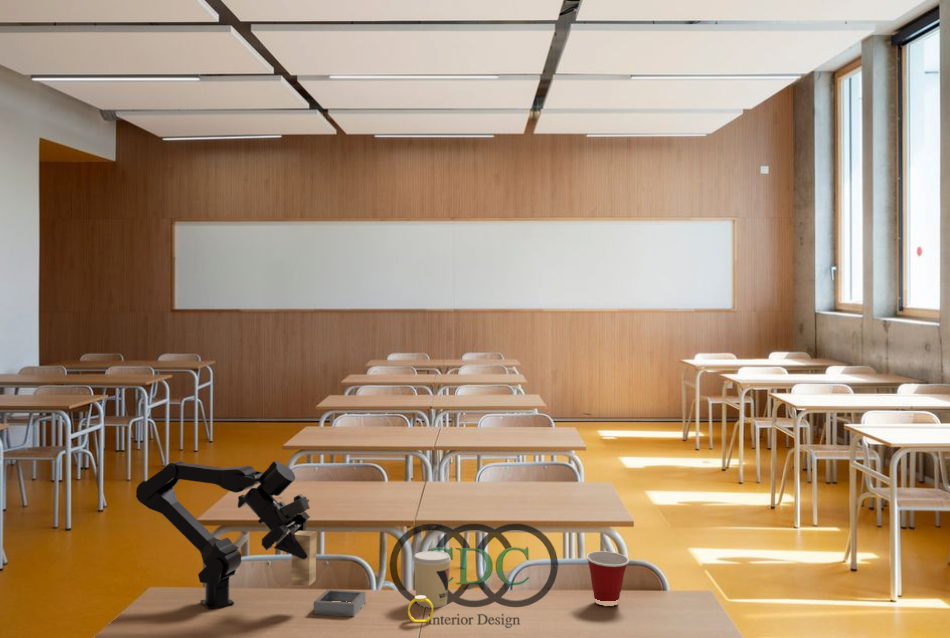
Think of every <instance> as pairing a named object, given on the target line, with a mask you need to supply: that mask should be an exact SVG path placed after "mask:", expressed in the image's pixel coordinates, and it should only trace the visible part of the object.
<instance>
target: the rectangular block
mask: <svg viewBox="0 0 950 638" xmlns="http://www.w3.org/2000/svg"><path fill="white" fill-rule="evenodd" d="M295 539H296V540H297V541H298V543H299V544H300V546H301V547H302V549H303V550H304V551H305V553H306V555H307V558H306V559H301V558H299V557H297V556H294V555H292V554H291V580H290V581H291V583H290V584H291V585H292V586H308V587H309V586H311V585H312V584H313V583H314V582H316V577H317V576H316V573H317V572H316V570H317V569H316V566H317V564H316V562H317V561H316V560H317V558H316V557H317V531H314V530H305V531H297V532H296V533H295Z"/></svg>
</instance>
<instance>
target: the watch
mask: <svg viewBox="0 0 950 638" xmlns="http://www.w3.org/2000/svg"><path fill="white" fill-rule="evenodd" d="M416 601H419V602H421V601H426V602H428V603H429V604H430V606H431V608H430V609H431V612H430V615H429V616H428V617H427V618H426V619H415V618H414V617H413V616H412V615H411V610H410V609H411V607H412V605H413V604H414V603H416ZM407 614H408V618H409V619H410V620H411V621H412V622H413V623H415V624H417V623H428V622H429V621H431V620H432V618H433V615H434V608H433V605H432V603H431V601H430V600H428V599H427V598H426V596H424V595H418V596H416V595H415V596H414V598H413V599H412V600H411V601H410V602H409V604H408V607H407Z"/></svg>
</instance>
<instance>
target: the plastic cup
mask: <svg viewBox="0 0 950 638" xmlns="http://www.w3.org/2000/svg"><path fill="white" fill-rule="evenodd" d="M585 556H586V559H587V562H588V566H589V572H590V578H591V579H590V581H591V586H592V592H593V598H595V599H597V600H600V601H616V600H618V599H619V600H620V596H621V592H622V589H623V588H622V587H623V583H624V577H625V572H626V570H627V565H628V564H630V563H629V562H630V559H629V557H627V556H625V555H624V554H622V553H618V552H613V551H605V550H597V551H596V550H595V551H591V552H588V553H587V554H586V555H585Z"/></svg>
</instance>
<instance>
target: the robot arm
mask: <svg viewBox="0 0 950 638" xmlns="http://www.w3.org/2000/svg"><path fill="white" fill-rule="evenodd" d="M180 480H184V481H189V482H190V481H192V482H197V483H205V484H212V485H215V486H219V487H220V488H221V489H223V490H226V491H229V492H232V493H235V494H237V493H241V492H244V491H246V490H248V491H247V492H246V493H245V494H241V495H239V496H238V501H237V508H238V509H240V508H242V507H243V506H246V505H247V506H248V507H249V508H250V509H251V511H252V512H254V514H255V515H256V516H257V518H259V519H258V520H257V522H258V523H259V524H260V525H262V524H264V525H265V526H266V528H268V530H269V532H267V533H266V534H265V536H264V537H262V539H261V546H262V547H263V548H264V549H265V550H266V551H268V550H270V549H271V548H272V547H273V549H274V550H278V551H282V552H284V553H287V554H289V555H291V556H292V555H294V556H297V557H299V558H301V559H306V558H307V555H306V553H305V551H304V550H303V549H302V547H301V546H300V544H299V543H298V541H297V540H296V539H295V533H296V532H297V531H306V526H307V525H308V524H307V523H308V522H307V521H309V519H310V518H311V516H310V515H309V514H308V513H307V512H306V511H307V510H310V508H311V507H310V505H309V502H310V499H309V498H307V497H306V496H304V495H303V494H302V493H300V494H298V495H296V496H294V497H293V501H292V502H289V503H287V504H286V503H285V502H284V501H279V502H278V500H276V499H275V497H274V496H276V497H279V496H281V494H282V493H284V491H286V489H288V487H289V486H290V485H291V484H292V483H293V482H294V481H295V480H296V476H295V472H293V470H292V469H291V468H290V467H288V466H287V465H285V464H283V463H281V462H280V461H279V460H274V461H272V462H271V463H270V464H269V466H268V467H267V469H266V470H265V471H264V472H263V471H258V470H255V468H254V467H253V466H250V465H239V466H238V465H237V466H228V467H227V466H226V467H220V466H211V465H203V464H198V463H196V464H195V463H188V462H184V461H180V460H179V461H173V462H170V463H168V464H166V465H165V466H164V467H163V468H162V469H161V470H160V471H158V472H157V473H156V474H154V475H153V476H151V477H150V478H148V479H147V480H145V481H142V482H140V483H139V484H138V485H137V487H136V490H135V494H136V495H135V498H136V500H137V501H138V502H139V503H140V504H142V505H143V506H144V507H146V508H147V509H149V510H152V511H154V512H156V513H160V514H161V515H162V516H163V517H164V518H165V519H167V520H168V522H169V523H171V524H172V525H173V526H174V528H176V530H178V531H179V533H180V534H181V535H182V536H184V538H186V540H187V541H188V542H190V544H192V545H193V546H194V547H195V548H196V549H197V550H198V551H199V552H200V553H199V554H200V556H201V558H202V562H203V564H204V568H203V569H202V570H200V572H199V573H197V575H198V580H199V582H200V583H201V584H205V590H204V591H205V592H204V593H205V594H204V596H205V598H204V599H201V600H200V604H202V605H203V606H204V607H206V608H207V609H214V608H215V609H216V608H221V607H226V606H231V605H230V604H233V605H235V601H233V600H232V599H230V578H231V577H232V576H234V575H235V574H236V571H237V569H239V567H240V566H241V564H242V553H241V552H240V550H238V549H239V546H237V545H235V544H234V542H232V540H231V539H230V538H229V537H224V538H222V539H219V538H217V537H215V536H214V535H213V534H212V533H211V532H210V531H209V530H208V529H207V528H206V527H205V526H204V525H203V524H202V523H201V522H200V521H199V520H198V519H197V518H196V517H195V516H194V515H193V514H192V513H190V511H188V510H187V508H186V507H185V506H184V505H183V504H182V503H181V502H179V500H178V499H177V496H176V491H175V489H174V487H175V486H176V485H178V483H179V481H180ZM255 485H258V486H257V487H254V486H255ZM274 544H276V545H275V546H273V545H274Z"/></svg>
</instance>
